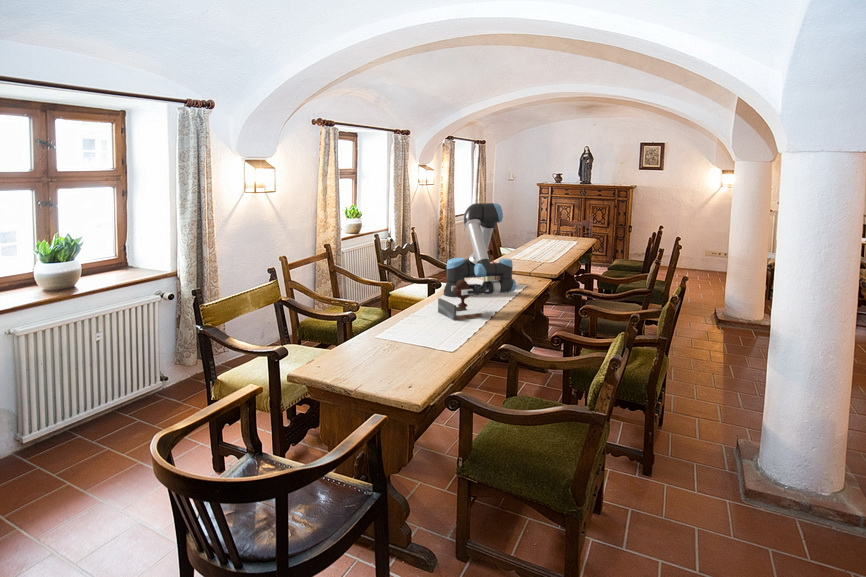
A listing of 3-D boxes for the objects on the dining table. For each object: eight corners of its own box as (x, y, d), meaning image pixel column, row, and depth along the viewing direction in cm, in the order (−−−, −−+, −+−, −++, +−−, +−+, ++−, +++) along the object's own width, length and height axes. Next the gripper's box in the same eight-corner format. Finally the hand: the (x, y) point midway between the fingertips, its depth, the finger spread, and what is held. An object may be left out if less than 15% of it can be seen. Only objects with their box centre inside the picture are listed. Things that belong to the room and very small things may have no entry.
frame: (464, 309, 346) (465, 295, 345) (481, 317, 329) (482, 302, 328) (438, 312, 339) (438, 298, 337) (453, 320, 322) (454, 305, 320)
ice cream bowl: (473, 307, 328) (474, 281, 325) (453, 308, 328) (454, 281, 325) (471, 303, 339) (471, 277, 336) (451, 303, 338) (452, 277, 335)
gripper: (501, 298, 329) (466, 301, 320) (480, 290, 350) (447, 293, 341) (502, 284, 328) (467, 287, 319) (480, 277, 349) (447, 280, 339)
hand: (456, 290), depth 330 cm, fingers closed on ice cream bowl, 11 cm apart
